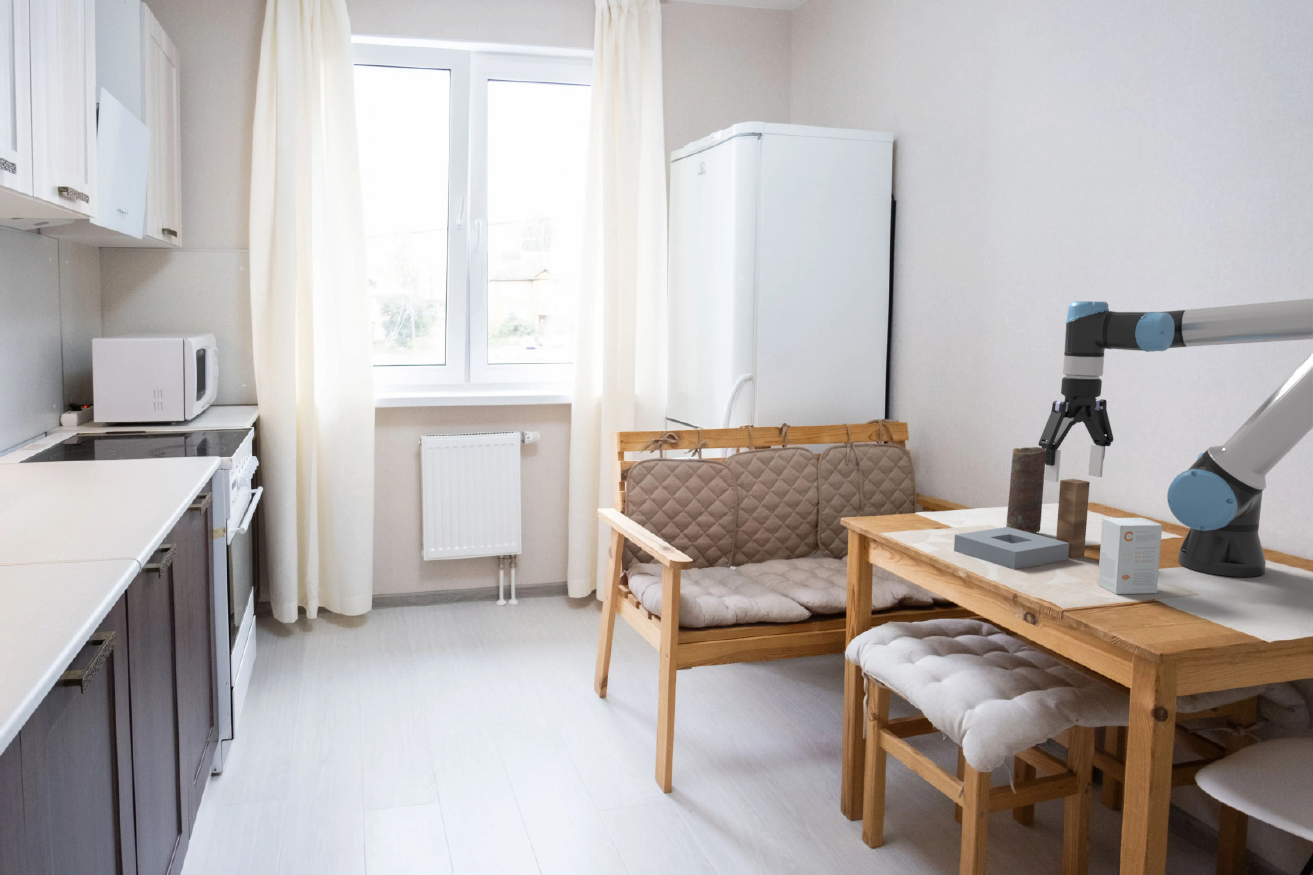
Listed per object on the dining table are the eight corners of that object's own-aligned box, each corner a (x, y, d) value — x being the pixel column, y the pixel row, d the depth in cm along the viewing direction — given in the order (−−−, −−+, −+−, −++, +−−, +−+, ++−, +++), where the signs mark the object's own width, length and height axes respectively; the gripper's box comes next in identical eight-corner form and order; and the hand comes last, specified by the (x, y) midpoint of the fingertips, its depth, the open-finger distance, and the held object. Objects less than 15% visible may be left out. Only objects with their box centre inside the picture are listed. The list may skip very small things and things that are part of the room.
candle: (1045, 537, 214) (1051, 450, 211) (1012, 537, 214) (1018, 450, 211) (1032, 529, 221) (1038, 445, 219) (1001, 529, 222) (1006, 445, 219)
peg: (1084, 556, 198) (1089, 481, 196) (1071, 558, 196) (1076, 483, 194) (1067, 552, 201) (1073, 478, 199) (1055, 554, 200) (1060, 480, 197)
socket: (1068, 559, 196) (1069, 543, 195) (1014, 569, 188) (1015, 552, 187) (1006, 542, 209) (1007, 526, 209) (953, 550, 202) (954, 534, 201)
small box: (1136, 583, 179) (1142, 516, 177) (1157, 594, 172) (1163, 524, 171) (1096, 584, 178) (1101, 517, 176) (1115, 595, 172) (1121, 525, 170)
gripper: (1105, 374, 203) (1097, 471, 206) (1025, 377, 191) (1017, 479, 194) (1137, 376, 196) (1128, 476, 199) (1056, 380, 184) (1047, 486, 187)
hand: (1073, 478), depth 197 cm, fingers open, 13 cm apart
